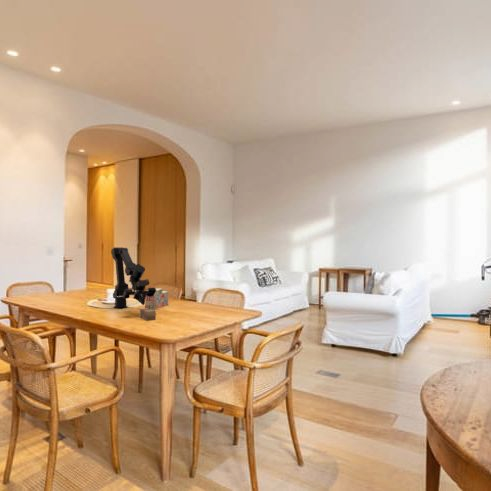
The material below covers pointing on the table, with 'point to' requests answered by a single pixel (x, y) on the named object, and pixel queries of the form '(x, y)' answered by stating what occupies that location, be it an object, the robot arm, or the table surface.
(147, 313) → the walnut block
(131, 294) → the robot arm
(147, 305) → the stack of blocks
